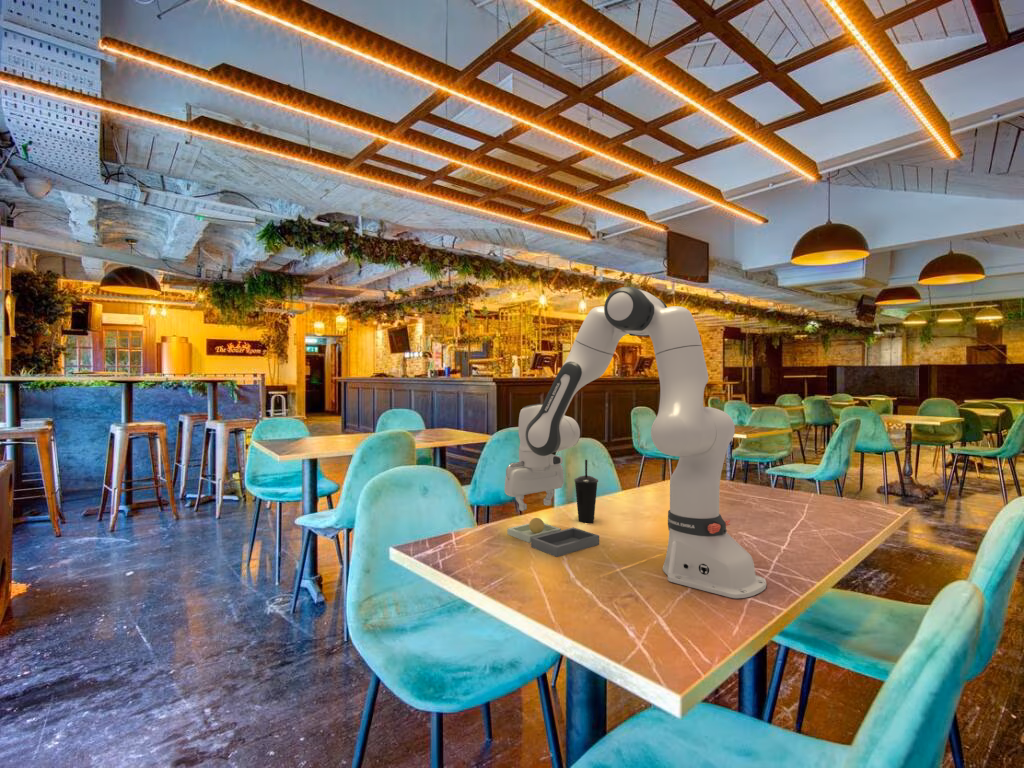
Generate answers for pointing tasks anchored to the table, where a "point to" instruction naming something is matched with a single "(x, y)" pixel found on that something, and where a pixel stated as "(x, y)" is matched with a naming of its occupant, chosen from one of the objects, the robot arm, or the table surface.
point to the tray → (529, 532)
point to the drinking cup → (586, 497)
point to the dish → (564, 541)
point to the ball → (536, 525)
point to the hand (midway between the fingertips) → (535, 507)
